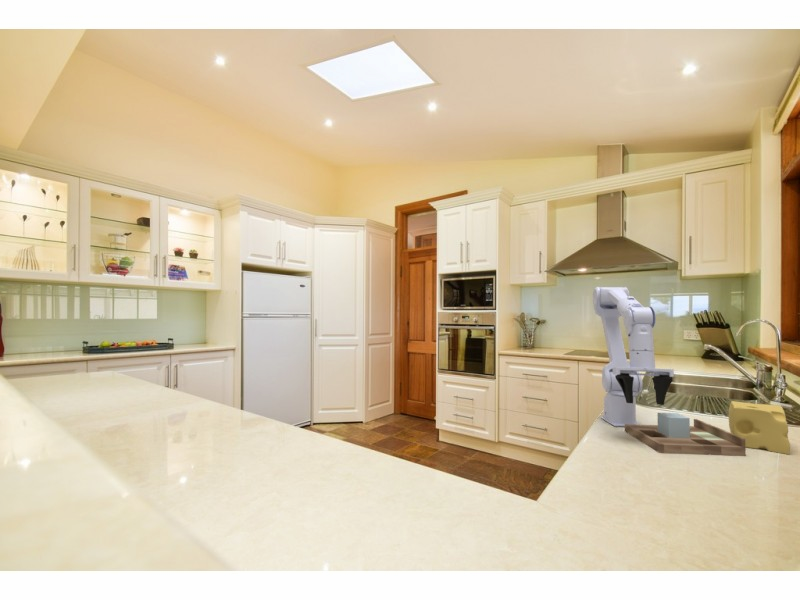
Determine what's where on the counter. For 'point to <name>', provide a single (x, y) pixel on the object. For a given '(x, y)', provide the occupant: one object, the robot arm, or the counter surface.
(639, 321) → the robot arm
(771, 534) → the counter surface
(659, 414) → the blue block
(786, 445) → the cheese
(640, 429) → the board
